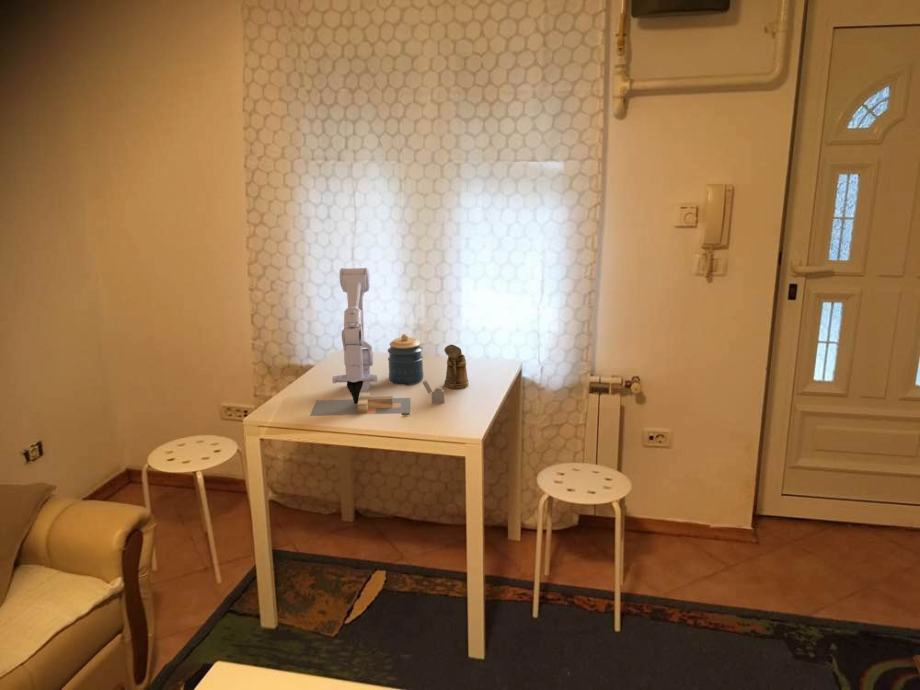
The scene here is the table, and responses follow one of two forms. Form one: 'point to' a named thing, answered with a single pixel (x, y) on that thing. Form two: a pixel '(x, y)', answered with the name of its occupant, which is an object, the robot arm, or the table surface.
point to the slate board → (352, 409)
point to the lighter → (435, 393)
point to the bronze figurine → (455, 368)
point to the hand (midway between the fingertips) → (356, 402)
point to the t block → (373, 402)
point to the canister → (405, 361)
